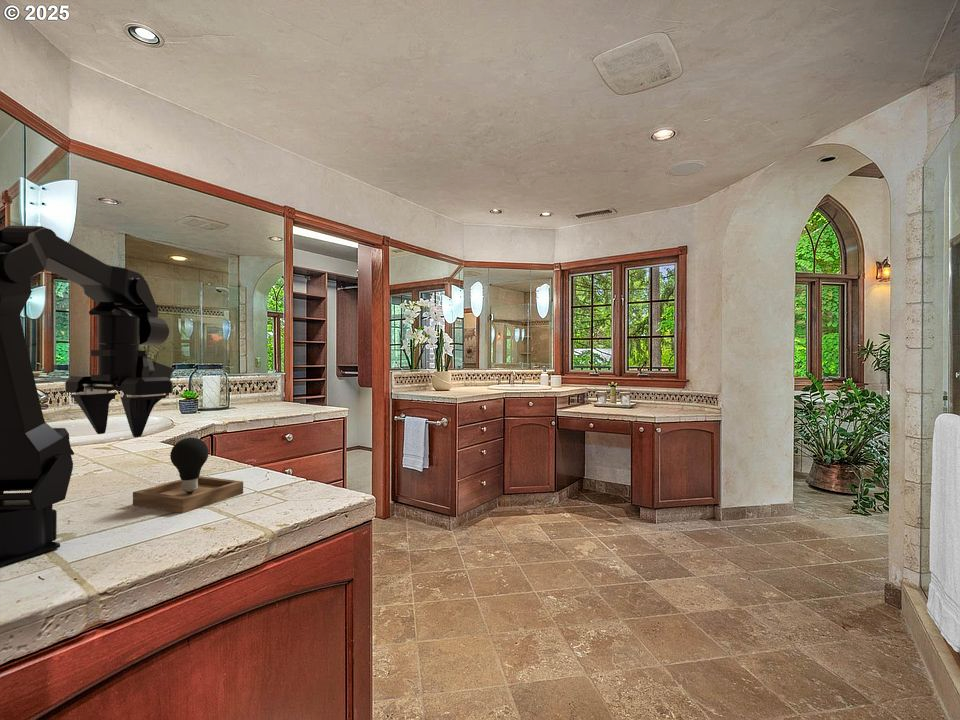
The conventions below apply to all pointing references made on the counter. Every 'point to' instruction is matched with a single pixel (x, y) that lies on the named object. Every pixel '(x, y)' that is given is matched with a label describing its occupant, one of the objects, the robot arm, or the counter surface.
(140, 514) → the counter surface
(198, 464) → the light bulb
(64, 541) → the counter surface
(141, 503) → the walnut tray
